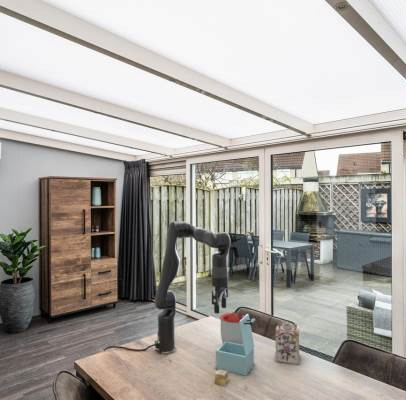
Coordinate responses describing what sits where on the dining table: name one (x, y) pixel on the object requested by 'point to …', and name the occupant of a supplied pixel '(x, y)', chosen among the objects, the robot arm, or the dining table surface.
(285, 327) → the decorative jar
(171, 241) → the robot arm
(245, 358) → the box
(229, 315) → the citrus juicer
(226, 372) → the block
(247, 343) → the freezer lid
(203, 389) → the dining table surface
